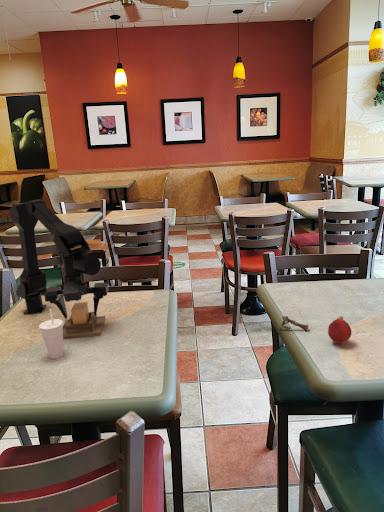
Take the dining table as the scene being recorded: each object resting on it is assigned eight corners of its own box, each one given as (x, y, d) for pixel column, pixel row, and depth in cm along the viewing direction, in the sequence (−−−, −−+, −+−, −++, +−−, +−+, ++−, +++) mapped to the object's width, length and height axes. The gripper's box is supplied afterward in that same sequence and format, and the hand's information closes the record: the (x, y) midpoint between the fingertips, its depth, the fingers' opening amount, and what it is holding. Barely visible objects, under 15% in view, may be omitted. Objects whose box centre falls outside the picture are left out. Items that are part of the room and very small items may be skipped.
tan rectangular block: (77, 322, 129) (74, 303, 127) (89, 321, 129) (87, 301, 127) (74, 330, 123) (70, 310, 121) (87, 329, 123) (84, 308, 121)
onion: (339, 351, 102) (340, 323, 100) (323, 342, 107) (323, 315, 105) (355, 345, 104) (356, 317, 102) (338, 337, 109) (339, 310, 107)
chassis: (66, 322, 132) (64, 313, 131) (105, 318, 133) (104, 309, 132) (57, 339, 119) (55, 329, 119) (100, 335, 120) (99, 325, 120)
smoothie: (61, 362, 106) (52, 314, 103) (39, 360, 108) (31, 313, 104) (72, 350, 112) (65, 304, 109) (52, 349, 114) (44, 304, 110)
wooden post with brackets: (276, 326, 117) (282, 313, 115) (301, 336, 116) (308, 323, 115) (276, 328, 115) (282, 315, 114) (302, 339, 114) (309, 326, 113)
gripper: (35, 281, 113) (44, 331, 117) (101, 275, 114) (107, 324, 118) (45, 270, 123) (53, 316, 127) (105, 264, 125) (111, 310, 129)
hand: (80, 316), depth 125 cm, fingers open, 9 cm apart
